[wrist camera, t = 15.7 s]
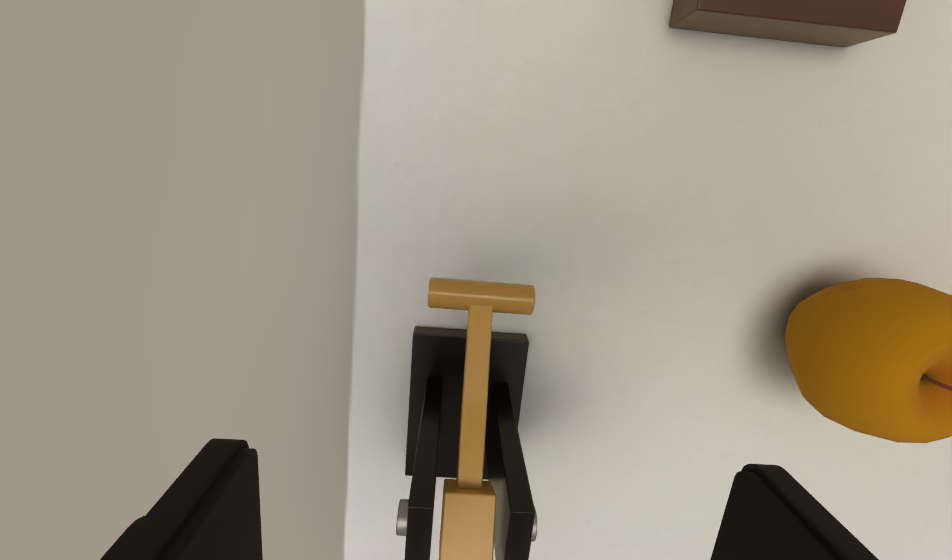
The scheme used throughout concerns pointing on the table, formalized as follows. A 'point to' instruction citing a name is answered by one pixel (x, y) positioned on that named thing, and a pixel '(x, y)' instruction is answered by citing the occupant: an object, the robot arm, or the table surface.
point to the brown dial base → (792, 19)
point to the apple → (876, 357)
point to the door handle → (474, 414)
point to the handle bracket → (439, 435)
